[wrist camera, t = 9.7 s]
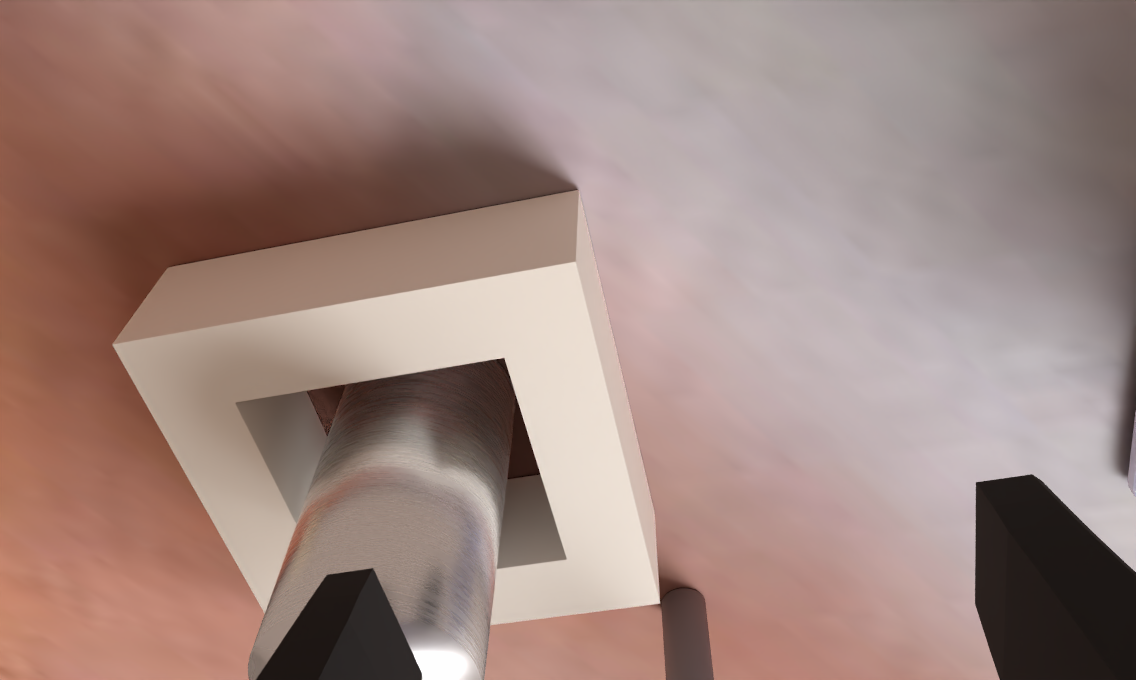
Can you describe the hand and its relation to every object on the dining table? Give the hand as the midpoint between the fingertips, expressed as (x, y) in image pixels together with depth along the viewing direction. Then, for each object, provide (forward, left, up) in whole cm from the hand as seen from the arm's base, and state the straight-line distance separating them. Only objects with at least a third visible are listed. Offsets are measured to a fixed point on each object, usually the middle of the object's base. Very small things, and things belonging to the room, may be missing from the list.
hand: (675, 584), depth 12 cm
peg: (+6, +4, -10) cm, 13 cm away
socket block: (+6, +4, -10) cm, 13 cm away
